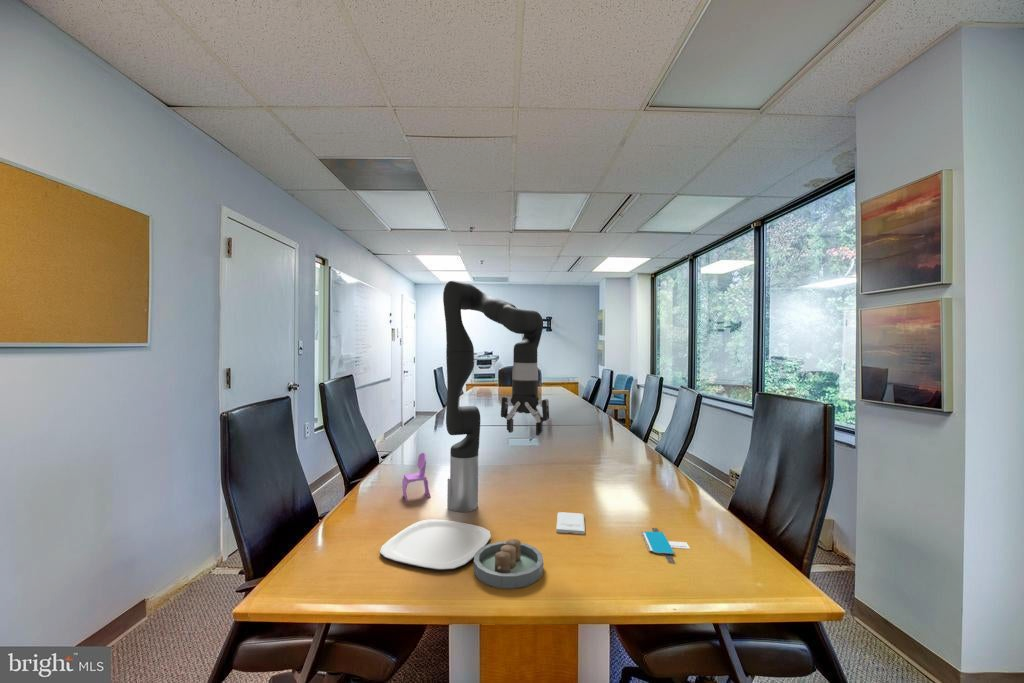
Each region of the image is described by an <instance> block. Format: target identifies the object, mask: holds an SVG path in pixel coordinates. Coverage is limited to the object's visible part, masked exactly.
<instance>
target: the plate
mask: <svg viewBox="0 0 1024 683" xmlns="http://www.w3.org/2000/svg"><path fill="white" fill-rule="evenodd" d="M491 537H492V536H491V531H490V530H488V529H486V528H485V527H482V526H478V525H475V524H472V523H471V524H470V523H465V522H461V521H456V520H455V521H453V520H447V519H437V518H431V519H430V518H429V519H423V520H420V521H416V522H414V523H413V524H410V525H409V526H407V527H405V528H403V529H402V530H401V531H398V533H396V534H395V535H394V536H392V537H391V538H390V539H388V540H387V541H386V542H385V543H384V544H382V546H381V547H380V551H379V554H380V555H382V556H383V557H384V558H385V559H388V560H391V561H393V562H396V563H400V564H405V565H409V566H413V567H418V568H423V569H430V570H436V571H448V570H455V569H458V568H460V567H463V566H465V565H466V564H469V562H470V561H472V560H474V555H475V553H476V552H477V551H478V550H479V549H480V548H482V547H484V546H486V545H488V544H489V543H488V542H489V541H490V539H491Z"/></svg>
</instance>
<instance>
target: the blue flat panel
mask: <svg viewBox="0 0 1024 683" xmlns="http://www.w3.org/2000/svg"><path fill="white" fill-rule="evenodd" d="M651 529H652V531H644V532H643V531H641V536H642V539H643V541H644V543H645V546H646V548H647V551H648V552H649V553H651V552H653V553H654V555H655V554H656V555H660V556H664V557H665V558H666V560H667V561H668V563H669V564H676V561H675V560H674V557H673V555H674V554H675V551H674V550H673V549H679V550H680V549H684V550H690V549H691V547H690V546H689V544H688V542H686V541H671V540H668V539H667V537H666V535H665V533H664V532H661V531H659V529H658V528H657V527H651ZM672 554H673V555H672Z"/></svg>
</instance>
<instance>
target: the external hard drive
mask: <svg viewBox="0 0 1024 683" xmlns="http://www.w3.org/2000/svg"><path fill="white" fill-rule="evenodd" d="M556 515H557V516H556V517H557V518H556V526H555V527H556V530H555V532H556V533H561V534H575V535H576V534H577V535H586V529H585V515H584V513H577V512H565V511H564V512H562V511H559V512H557V514H556Z"/></svg>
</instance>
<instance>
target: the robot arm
mask: <svg viewBox="0 0 1024 683" xmlns="http://www.w3.org/2000/svg"><path fill="white" fill-rule="evenodd" d="M442 294H443V295H442V301H443V310H444V311H443V312H444V321H445V334H446V336H445V337H446V346H445V347H446V348H445V350H446V352H445V353H446V354H445V355H446V357H445V358H446V361H445V362H446V383H447V384H446V388H447V389H446V390H447V391H446V407H445V408H446V410H445V425H446V431H447V433H448V434H449V436H464V435H465V437H464V438H463V439H462V440H460V441H458V442H457V443H455V444H453V445H451V447H450V452H449V453H450V456H449V457H450V458H449V459H450V460H449V461H450V466H449V468H450V470H449V472H450V476H449V477H448V478H447V497H446V498H447V499H446V500H447V501H446V502H447V504H446V505H447V509H450V510H452V511H453V512H457V513H469V512H471V511H472V512H473V511H474V510H476V509H478V508H479V449H480V437H481V436H480V432H481V413H480V410H479V408H478V407H477V406H476V405H465V406H462V405H461V406H459V402H460V401H459V400H460V395H461V392H462V390H463V388H464V385H465V384H466V383H467V381H468V379H469V378H470V376H471V375H472V372H473V370H474V368H475V348H474V344H473V341H472V340H471V337H470V335H469V334H468V332H467V330H466V328H465V326H464V323H463V319H462V311H461V310H463V311H466V310H468V311H469V310H470V311H476V312H481V313H482V314H484V316H485V317H486V318H488V319H489V320H491V321H492V322H495V323H497V324H500V325H502V326H503V327H504V328H505V329H507V330H508V331H510V332H512V333H514V334H519V335H522V340H521V341H519V342H517V343H515V344H514V345H513V358H512V360H513V361H512V362H513V366H512V376H511V378H512V380H511V382H512V383H511V384H512V385H511V391H512V392H511V394H512V395H511V397H509V396H503V397H501V407H500V417H501V418H504V419H506V430H507V431H508V433H509V434H511V433H513V432H514V417H515V416H516V414H523V413H524V414H528V415H529V414H530V415H531V416H532V417H534V419H535V421H536V423H535V435H536V436H541V434H543V425H544V424H543V422H546V421H548V420H550V407H549V406H550V405H549V402H550V401H549V399H547V398H545V399H539V396H538V395H539V394H538V393H539V392H538V390H539V367H538V348H539V346H540V341H541V337H542V333H543V330H544V329H543V328H544V320H543V317H542V316H541V313H539V312H538V311H536V310H527V309H520V308H517V306H515V305H514V304H513V303H511V302H508V301H506V300H502V299H499V298H496V297H494V296H490V295H489V294H487V293H485V292H483V291H482V290H481V289H479V288H477V287H476V286H475V285H473V284H471V283H468V282H463V281H457V280H449V281H448V282H446V284H445V285H444V289H443V293H442ZM510 403H511V404H512V406H513V407H512V408H511V410H509V405H510ZM538 405H540V408H542V414H541V412H540V411H539V408H537V406H538ZM508 412H509V413H508Z"/></svg>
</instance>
